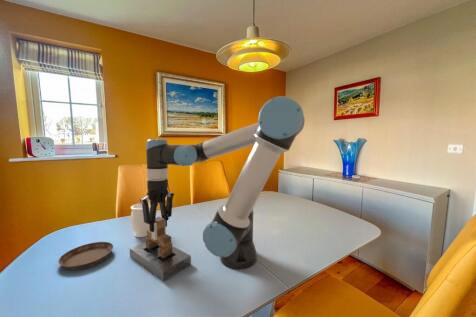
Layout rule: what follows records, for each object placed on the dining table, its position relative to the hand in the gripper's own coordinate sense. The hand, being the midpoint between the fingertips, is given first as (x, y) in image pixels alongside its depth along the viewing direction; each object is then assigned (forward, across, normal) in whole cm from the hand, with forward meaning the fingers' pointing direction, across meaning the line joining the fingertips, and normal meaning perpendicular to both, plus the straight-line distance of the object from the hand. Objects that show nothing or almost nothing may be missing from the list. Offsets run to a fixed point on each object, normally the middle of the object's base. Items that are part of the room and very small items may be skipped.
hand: (158, 237), depth 80 cm
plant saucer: (+10, +17, -24) cm, 31 cm away
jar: (+10, -8, -28) cm, 31 cm away
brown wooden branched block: (+6, 0, 0) cm, 6 cm away
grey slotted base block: (+10, 0, 0) cm, 10 cm away
